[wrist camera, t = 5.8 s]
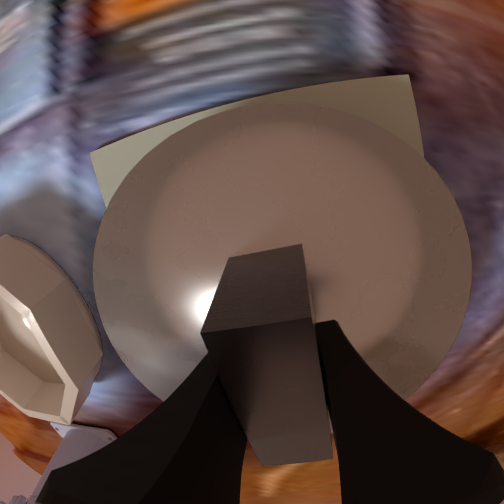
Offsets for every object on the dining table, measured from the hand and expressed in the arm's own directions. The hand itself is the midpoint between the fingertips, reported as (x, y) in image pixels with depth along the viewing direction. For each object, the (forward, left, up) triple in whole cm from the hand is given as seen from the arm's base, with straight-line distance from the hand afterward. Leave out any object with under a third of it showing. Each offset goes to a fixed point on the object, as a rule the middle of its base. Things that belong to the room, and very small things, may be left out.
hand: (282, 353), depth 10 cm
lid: (0, 0, -3) cm, 3 cm away
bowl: (0, +17, -5) cm, 18 cm away
